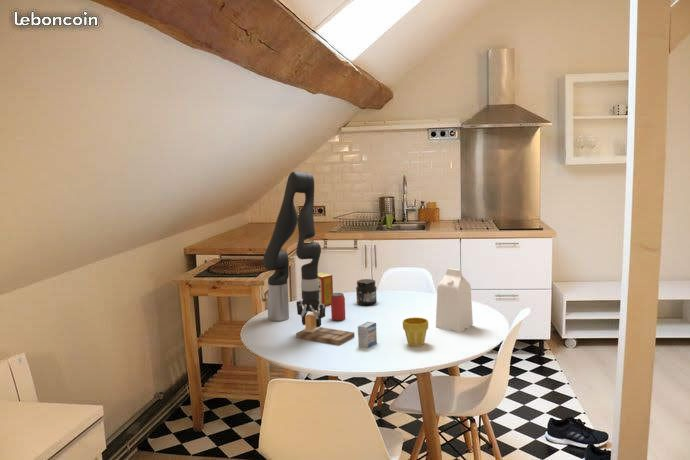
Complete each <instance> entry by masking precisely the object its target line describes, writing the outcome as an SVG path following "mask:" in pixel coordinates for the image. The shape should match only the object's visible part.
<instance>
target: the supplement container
mask: <svg viewBox="0 0 690 460" xmlns="http://www.w3.org/2000/svg"><path fill="white" fill-rule="evenodd" d="M355 289H356V291H355V292H356V304H357V305H359V306H361V307H362V306H363V307H368V306H374V305H376V304H377V303H378V300H377V290H378V289H377V286H376V280H375V279H371V278H364V279H359V280H357V281H356V287H355Z"/></svg>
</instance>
